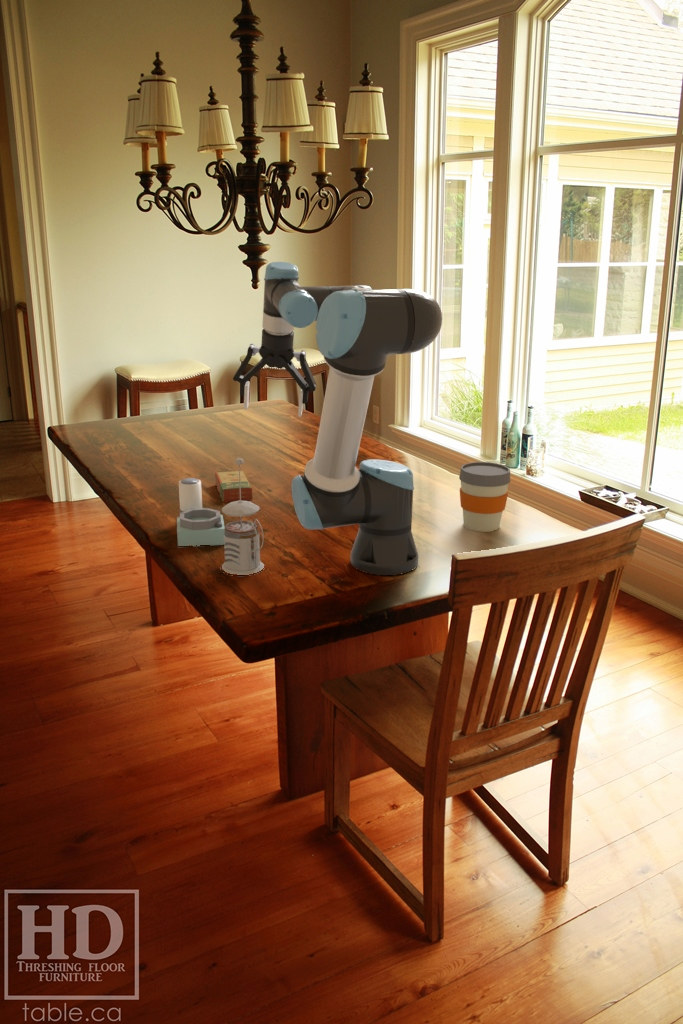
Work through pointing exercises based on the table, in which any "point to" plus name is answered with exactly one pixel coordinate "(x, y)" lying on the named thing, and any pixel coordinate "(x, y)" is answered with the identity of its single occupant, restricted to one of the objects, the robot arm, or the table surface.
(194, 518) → the body block
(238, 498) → the carton
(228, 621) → the table surface
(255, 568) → the french press
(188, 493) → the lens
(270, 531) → the table surface
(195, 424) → the table surface
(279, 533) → the table surface
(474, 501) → the reusable coffee cup
